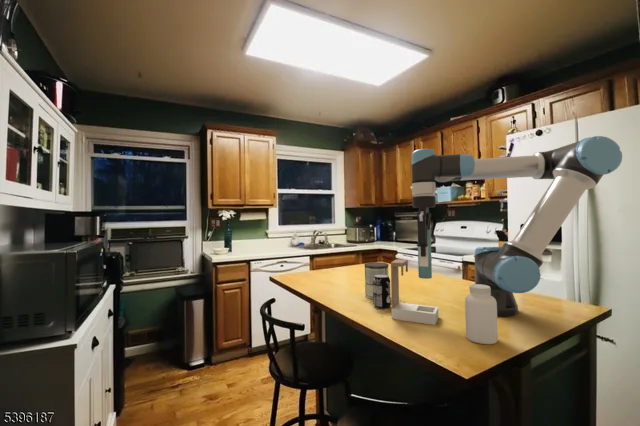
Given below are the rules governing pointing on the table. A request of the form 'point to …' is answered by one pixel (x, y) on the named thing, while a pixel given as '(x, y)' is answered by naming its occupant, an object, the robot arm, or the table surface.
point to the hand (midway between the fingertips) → (425, 265)
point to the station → (404, 309)
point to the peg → (427, 271)
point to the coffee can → (370, 271)
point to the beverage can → (381, 291)
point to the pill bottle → (481, 315)
